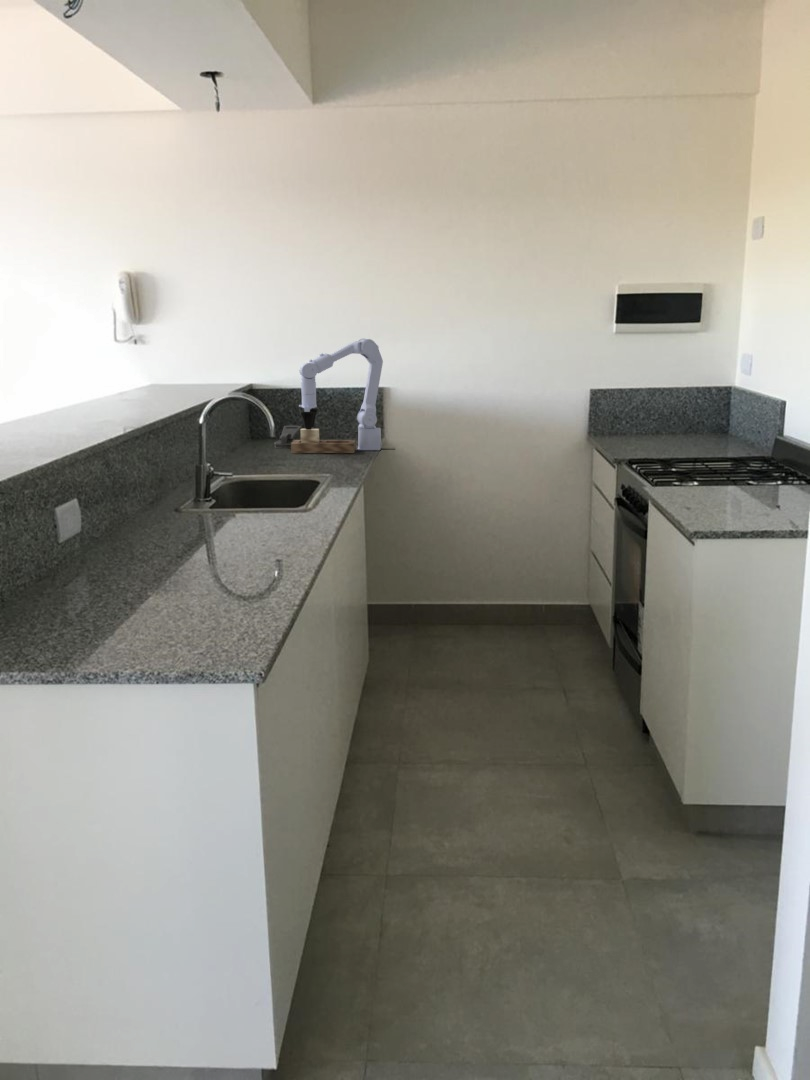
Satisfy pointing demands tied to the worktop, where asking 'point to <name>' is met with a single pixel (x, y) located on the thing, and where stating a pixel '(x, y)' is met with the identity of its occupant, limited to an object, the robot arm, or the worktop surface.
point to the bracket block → (309, 435)
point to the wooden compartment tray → (324, 446)
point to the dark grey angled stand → (287, 436)
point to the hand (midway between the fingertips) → (309, 428)
